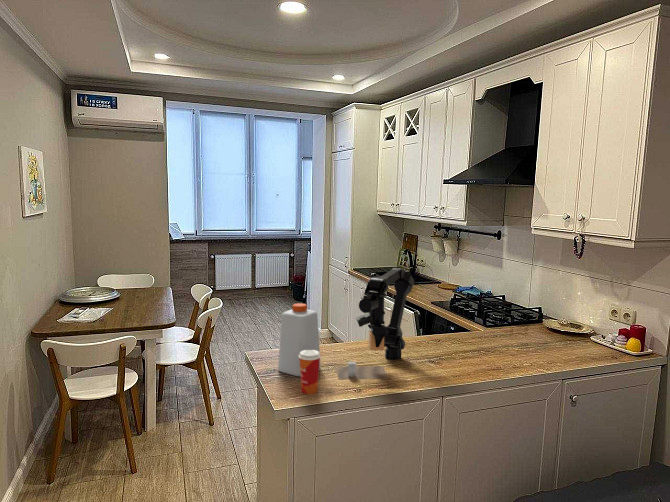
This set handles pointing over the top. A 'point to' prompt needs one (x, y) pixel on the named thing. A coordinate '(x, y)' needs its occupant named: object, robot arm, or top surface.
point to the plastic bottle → (297, 337)
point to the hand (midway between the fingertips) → (376, 344)
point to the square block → (372, 343)
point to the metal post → (351, 370)
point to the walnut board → (363, 372)
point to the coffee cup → (309, 371)
